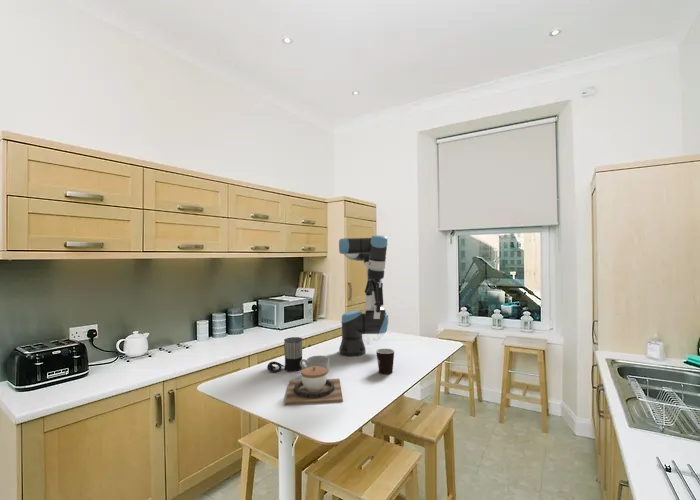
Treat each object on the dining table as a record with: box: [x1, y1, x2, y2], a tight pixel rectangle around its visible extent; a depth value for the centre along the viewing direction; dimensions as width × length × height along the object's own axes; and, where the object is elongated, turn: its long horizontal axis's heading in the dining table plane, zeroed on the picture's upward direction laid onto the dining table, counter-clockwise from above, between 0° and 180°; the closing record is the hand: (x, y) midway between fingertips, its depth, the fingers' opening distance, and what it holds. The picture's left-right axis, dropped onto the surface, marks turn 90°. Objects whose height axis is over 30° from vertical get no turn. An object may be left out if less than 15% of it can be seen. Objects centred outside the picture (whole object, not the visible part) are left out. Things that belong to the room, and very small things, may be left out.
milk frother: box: [266, 336, 304, 373], centre depth 171 cm, size 14×16×15 cm
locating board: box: [284, 377, 344, 406], centre depth 142 cm, size 22×22×2 cm
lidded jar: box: [300, 366, 328, 392], centre depth 142 cm, size 11×11×9 cm
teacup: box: [300, 355, 330, 374], centre depth 161 cm, size 14×11×8 cm
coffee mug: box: [375, 348, 395, 375], centre depth 165 cm, size 12×9×10 cm
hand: (371, 313), depth 161 cm, fingers open, 13 cm apart
